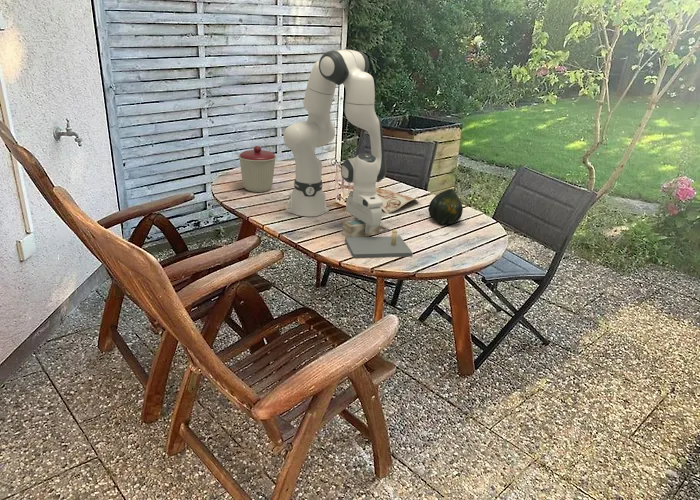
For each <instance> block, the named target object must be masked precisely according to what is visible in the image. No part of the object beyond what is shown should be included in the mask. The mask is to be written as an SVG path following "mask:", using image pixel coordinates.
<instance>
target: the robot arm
mask: <svg viewBox="0 0 700 500" xmlns="http://www.w3.org/2000/svg"><path fill="white" fill-rule="evenodd" d="M369 69H370V61H369V58H368V56H367V55H366V54H365V53H364V52H362V51H360V50H357V49H339V50H330V51H326V52H325V53H324V54H322V55H321V56H320V59H319V60H317V61H316V62H315V63H314V65H313V67H312V69H311V71H310V75H309V77H308V81H307V83H306V84H307V85H306V89H305V93H304V97H303V102H302V103H303V107H304V109H305V111H306V112H307V114H308V115H307V119H306V121H301V122H300V121H299V122H295V123H292V124H290V125H289V126H287V127H286V128H285V129H284V131H283V142H284V143H285V146H286V147H287V148H288V149H289V150H290V151H291V152H292V154H293V157H294V163H295V178H294V182H293V187H294V188H293V190H292V191H291V193H288V199H289V200H288V202H287V204H286V208H285V212H286V213H289V214H290V213H291V214H293V215H297V216H298V217H299V216H301V217H318V216H321V215H323V214H326V213H328V212H329V211H330V209H329V207H327V205H326V193H325V192H324V190H323V185H324V184H323V180H322V176H323V175H322V173H323V162H322V161H321V159H320V158H318V157H317V155H316V152H315V151H316V150H315V149H316V148H318V147H319V148H320V147H324V146H326V145H328V144H329V143H331V142H332V141H334V138H335V135H336V129H335V126H334V124H333V123H332V122H331V109H332V104H333V99H334V95H335V92H336V91H335V90H336V87H337V85H338V86H342V85H343V86H344V88H345V99H344V102H345V103H344V114H345V117H346V119H347V121H348V122H349V123H350V124H352V125H353V126H355V127H357V128H358V129H359V128H360V129H362V130H363V131H365V132H367V133H368V135H369V139H370V141H369V142H370V152H371V153H367V152H365V153H362V152H361V153H359V154H358V155H356V156H355V157H350V158H345V160H343V162H342V164H341V167H340V176H341V178H342V179H343V180H344V181H345V182H346V183H350V184H353V188H352V190H353V191H351V190H350V191H349V192H350V193H349V192H348V193H349V196H348V198H347V199H346V205H345V210H346V212H347V213H348V214H349V215H352V221H354V220H361V221H363V222H365V223H366V224H365V225H366V228H364V233H366V234H367V233H369V230H370V228H371V227H377V226H379V225H380V226H381V224H382V216H383V215H382V214H383V209H381V207H380V206H383V201H382V200H381V199H380V198H379V196H378V195H377V193H376V185H377V184H376V183H379V182H381V181H382V180H384V178H385V176H386V174H387V173H388V172H387V171H388V170H387V162H386V159H385V148H384V147H385V146H384V135H383V134H384V133H383V125H382V121H381V118H380V117H379V116H377V113H376V110H375V102H376V101H375V99H376V96H375V95H376V93H375V92H376V91H375V81H374V77H373V76H372V75H371V74H370V73H368V72H369Z"/></svg>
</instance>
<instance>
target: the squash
mask: <svg viewBox="0 0 700 500" xmlns="http://www.w3.org/2000/svg"><path fill="white" fill-rule="evenodd" d="M463 209H464V208H463V203H462V201H461V199H460V197H459V196H458V194H457V192H456V191H455V190H454V188H450V189H449V188H448V189H446V190H443V191H441V192H439V193H438V194H436V195H435V196H434V197H433V198H432V199H431V201H430V202H429V204H428V209H427V210H428V215H429V216H430V218H432V219H433V220H435V221H437V222H438V224H440V225H443V224H445V225H451V224H452V223H456V222H458V221H459V220H460V219H461V217H462V216H463Z"/></svg>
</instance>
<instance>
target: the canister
mask: <svg viewBox="0 0 700 500" xmlns="http://www.w3.org/2000/svg"><path fill="white" fill-rule="evenodd" d="M237 157H238V159H239V165H240V173H241V179H242V185H243V187H244V189H245V190H246V191H249V192H252V193H253V192H254V193H263V192H267V191H270V190H271V189H272V186H273V181H274V174H275V166H276V159H277V158H278V157H277V155H276V154H275V153H274V152H271V151H268V150H264V149H262V147H261V146H259V145H256V146H254V147H253V149H249V150H245V151H244V150H243V151H241V152H240V153H238V155H237Z"/></svg>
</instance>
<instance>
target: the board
mask: <svg viewBox="0 0 700 500" xmlns="http://www.w3.org/2000/svg"><path fill="white" fill-rule="evenodd" d="M344 242H345V245H346V246H347V248H348V250H349V253H350V254H351V257H352V258H353V259H365V258H366V259H367V258H368V259H371V258H373V259H375V258H403V257H404V258H407V257H413V253H414V252H413V251H412V249H410V247H409V246H408V245H407V243H406V242H405V241H404V239H403V238H402V236H401V235H398V230H397V229H392V233H391V236H363V237H346V236H345V237H344Z"/></svg>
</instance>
